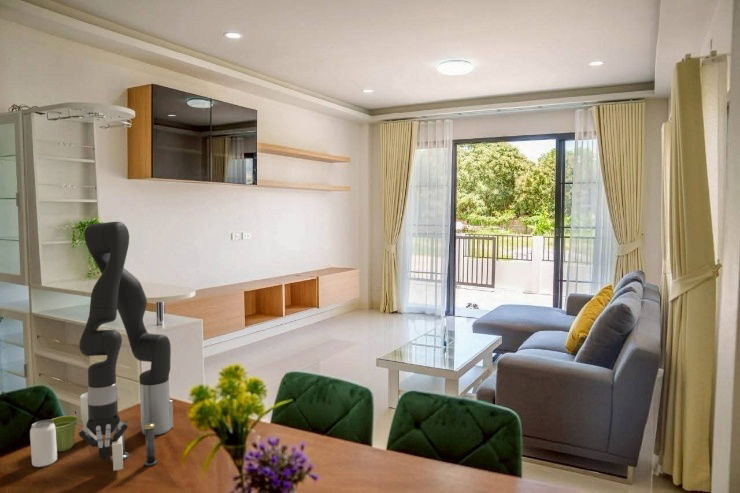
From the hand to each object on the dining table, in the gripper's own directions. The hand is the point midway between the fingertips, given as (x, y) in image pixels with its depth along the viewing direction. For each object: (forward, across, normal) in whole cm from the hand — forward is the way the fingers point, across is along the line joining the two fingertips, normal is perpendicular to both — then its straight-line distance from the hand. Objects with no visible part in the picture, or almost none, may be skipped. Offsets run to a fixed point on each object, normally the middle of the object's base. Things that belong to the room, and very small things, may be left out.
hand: (104, 458), depth 149 cm
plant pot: (+5, +12, -24) cm, 27 cm away
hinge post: (+4, -4, -8) cm, 10 cm away
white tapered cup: (+4, +4, -27) cm, 27 cm away
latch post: (+4, -12, 0) cm, 13 cm away
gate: (+2, -4, -1) cm, 4 cm away
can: (+5, +16, -15) cm, 23 cm away
